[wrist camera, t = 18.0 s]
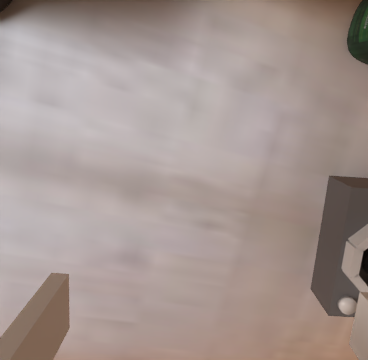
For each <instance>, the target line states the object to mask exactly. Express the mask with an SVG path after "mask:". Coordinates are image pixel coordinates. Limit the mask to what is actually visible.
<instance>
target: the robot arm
mask: <svg viewBox="0 0 368 360" xmlns="http://www.w3.org/2000/svg"><path fill="white" fill-rule="evenodd" d="M11 1H12V0H0V12H1V11H2V10H3V9H4V8H5V7H7V6H8V5H9V4H10V2H11ZM68 330H69V274H59V273H51V274H50V276H49V277H48V278H47V279H46V281H45V282H44V283H43V284H42V286H41V287H40V288H39V290H38V291H37V292H36V293H35V295H34V296H33V297H32V298H31V300H30V301H29V302H28V303H27V305H26V306H25V307H24V309H23V310H22V311H21V312H20V314H19V315H18V316H17V317H16V319H15V320H14V321H13V322H12V324H11V325H10V326H9V328H8V329H7V330H6V331H5V333H4V334H3V335H2V336H1V338H0V360H53V359H54V357H55V355H56V353H57V351H58V349H59V347H60V345H61V343H62V341H63V339H64V337H65V335H66V333H67V332H68ZM349 345H350V347H351V348H352V350H353V351H354V353H355V354H356V356H357V357H358V359H359V360H368V292H360V293H359V298H358V303H357V308H356V313H355V318H354V323H353V328H352V333H351V338H350V343H349Z"/></svg>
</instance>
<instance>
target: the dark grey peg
mask: <svg viewBox="0 0 368 360" xmlns="http://www.w3.org/2000/svg"><path fill="white" fill-rule="evenodd" d="M361 267H362V269H363V270H364V271H365V272H366V273H367V274H368V248H367V249H366V250H364V251H363V256H362V262H361Z"/></svg>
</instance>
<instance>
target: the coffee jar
mask: <svg viewBox="0 0 368 360" xmlns="http://www.w3.org/2000/svg"><path fill="white" fill-rule="evenodd" d="M347 45H348V49H349V52H350V53H351V55H352V56H353V57H354V58H356V59H357V60H359V61H361V62H364V63H366V64H368V0H363V1H362V2H361V3H360V5H359V6H358V8H357V10H356V12H355V14H354V16H353V19H352V22H351V25H350V28H349V32H348V38H347Z"/></svg>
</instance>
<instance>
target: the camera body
mask: <svg viewBox="0 0 368 360" xmlns="http://www.w3.org/2000/svg"><path fill="white" fill-rule="evenodd" d="M367 248H368V178H355V177H339V176H329V180H328V186H327V193H326V199H325V205H324V211H323V217H322V223H321V229H320V235H319V241H318V248H317V254H316V260H315V266H314V272H313V278H312V284H311V290H312V292H313V293H314V295H315V296H316V298H317V299H318V301H319V302H320V304H321V305H322V307H323V308H324V310H325V311H326V313H327V314H328V316H343V317H355V313H356V308H357V303H358V298H359V293H360V292H368V274H367V273H366V272H365V271H364V270H363V269H362V267H361V262H362V256H363V251H364V250H366V249H367Z"/></svg>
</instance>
